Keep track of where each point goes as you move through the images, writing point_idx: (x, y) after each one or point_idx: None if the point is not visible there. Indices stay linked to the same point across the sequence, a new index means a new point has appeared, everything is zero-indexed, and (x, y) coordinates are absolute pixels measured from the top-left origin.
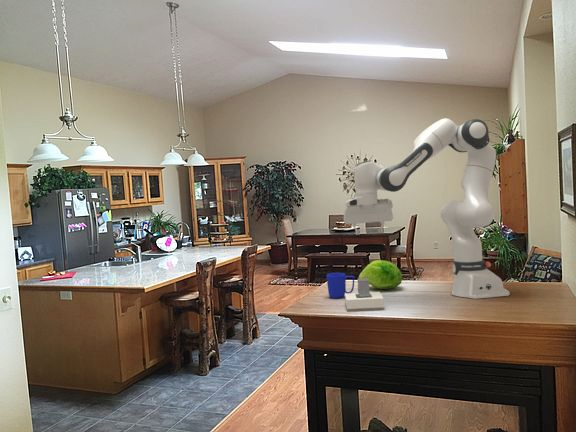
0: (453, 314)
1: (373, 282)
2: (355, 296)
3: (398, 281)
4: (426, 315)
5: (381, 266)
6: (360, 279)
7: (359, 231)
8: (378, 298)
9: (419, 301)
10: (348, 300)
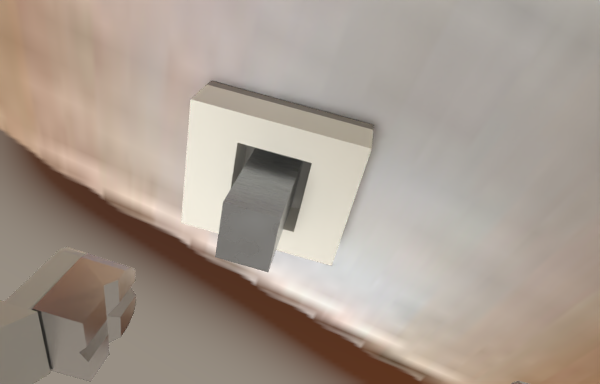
0: (515, 368)
1: None
2: (228, 185)
3: None
4: (432, 343)
5: None
6: (233, 232)
7: (106, 358)
8: (311, 259)
9: (555, 183)
10: (189, 224)
